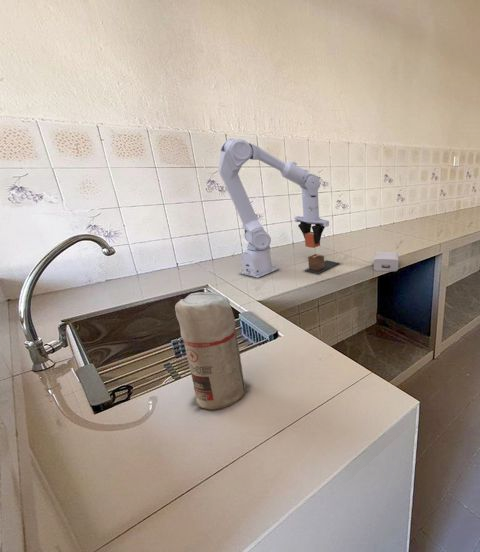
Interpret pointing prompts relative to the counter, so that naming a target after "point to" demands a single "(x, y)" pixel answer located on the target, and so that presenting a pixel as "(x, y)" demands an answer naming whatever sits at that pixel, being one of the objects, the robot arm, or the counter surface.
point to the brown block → (316, 262)
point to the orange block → (310, 240)
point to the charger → (386, 261)
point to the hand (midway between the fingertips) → (312, 242)
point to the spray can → (211, 349)
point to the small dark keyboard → (326, 264)
